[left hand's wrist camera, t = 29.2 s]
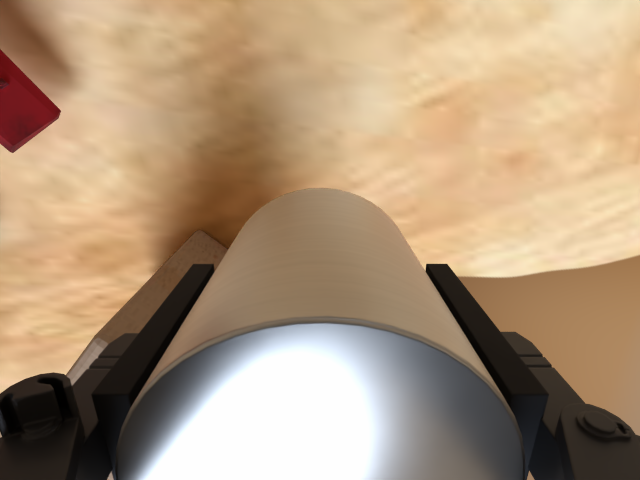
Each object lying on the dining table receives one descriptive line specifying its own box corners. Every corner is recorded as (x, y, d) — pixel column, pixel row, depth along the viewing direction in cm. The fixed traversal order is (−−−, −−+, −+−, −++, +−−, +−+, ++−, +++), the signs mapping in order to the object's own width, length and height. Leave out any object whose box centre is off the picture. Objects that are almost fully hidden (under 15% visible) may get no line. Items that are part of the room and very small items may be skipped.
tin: (198, 302, 16) (56, 539, 8) (286, 149, 14) (230, 228, 5) (346, 378, 18) (372, 651, 9) (448, 249, 16) (619, 445, 7)
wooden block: (199, 226, 40) (94, 335, 21) (273, 280, 42) (237, 421, 24) (150, 290, 43) (18, 437, 24) (223, 338, 45) (154, 506, 26)
